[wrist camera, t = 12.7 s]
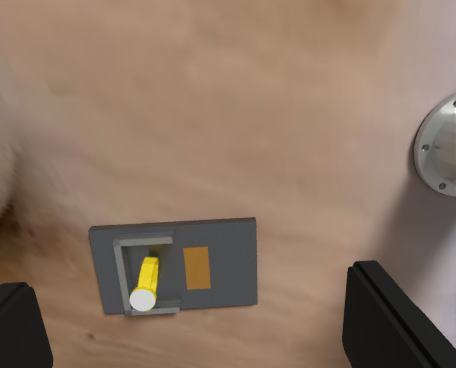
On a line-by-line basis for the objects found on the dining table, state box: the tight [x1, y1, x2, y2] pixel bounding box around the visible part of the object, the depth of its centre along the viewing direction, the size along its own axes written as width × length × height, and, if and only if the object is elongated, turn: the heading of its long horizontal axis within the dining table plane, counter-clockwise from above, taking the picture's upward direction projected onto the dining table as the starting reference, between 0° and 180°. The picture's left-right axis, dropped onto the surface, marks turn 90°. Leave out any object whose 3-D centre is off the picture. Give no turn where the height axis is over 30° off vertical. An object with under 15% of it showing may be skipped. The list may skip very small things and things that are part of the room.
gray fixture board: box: [88, 217, 257, 316], centre depth 40 cm, size 20×12×3 cm, turn 92°
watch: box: [130, 257, 159, 312], centre depth 37 cm, size 6×3×6 cm, turn 173°
